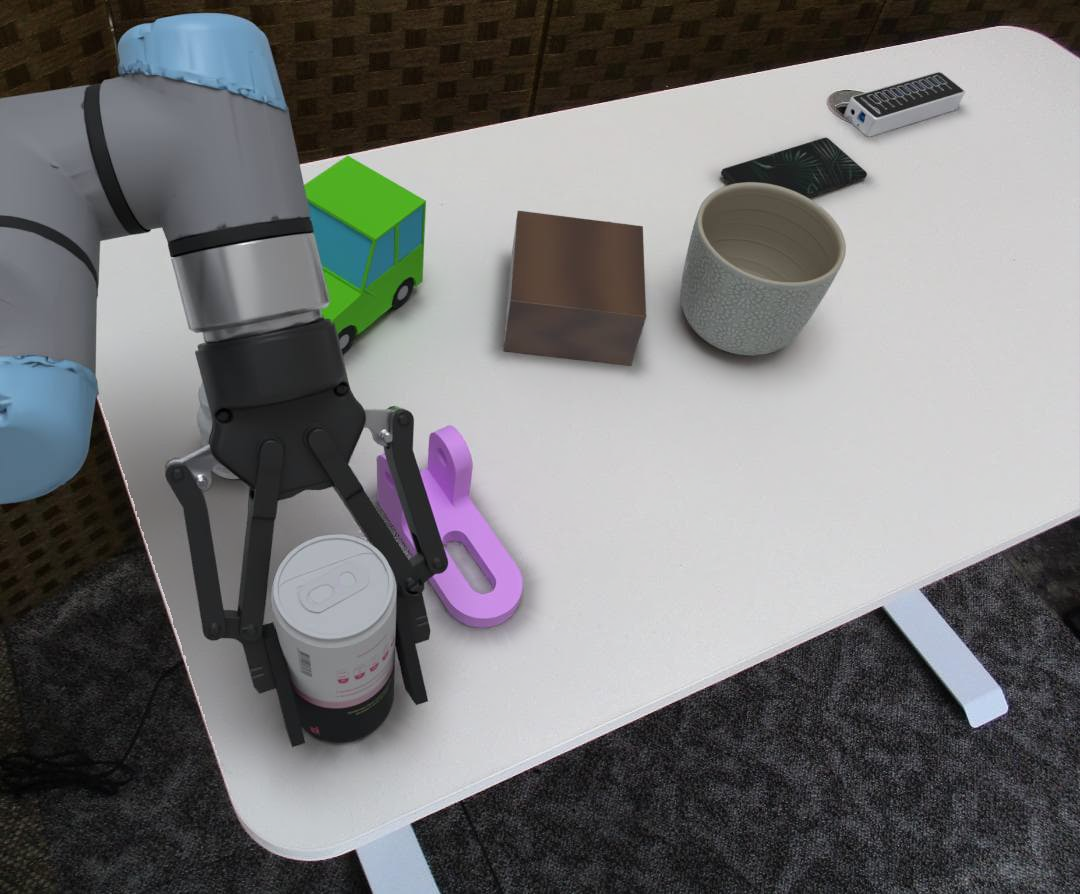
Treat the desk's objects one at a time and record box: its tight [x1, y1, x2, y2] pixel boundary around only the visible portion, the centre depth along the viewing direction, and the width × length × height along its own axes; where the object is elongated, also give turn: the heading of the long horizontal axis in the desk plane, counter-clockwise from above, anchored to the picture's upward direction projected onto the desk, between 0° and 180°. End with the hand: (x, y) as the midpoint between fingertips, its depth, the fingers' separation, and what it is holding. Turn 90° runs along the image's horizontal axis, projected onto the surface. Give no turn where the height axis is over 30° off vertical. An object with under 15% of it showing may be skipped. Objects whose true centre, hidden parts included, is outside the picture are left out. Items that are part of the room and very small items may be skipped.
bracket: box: [376, 424, 524, 629], centre depth 69 cm, size 13×6×7 cm, turn 33°
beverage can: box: [270, 533, 397, 744], centre depth 58 cm, size 7×7×15 cm
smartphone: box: [720, 137, 868, 199], centre depth 103 cm, size 7×1×15 cm
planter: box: [680, 182, 847, 356], centre depth 85 cm, size 12×12×11 cm
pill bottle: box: [196, 382, 240, 480], centre depth 71 cm, size 4×4×8 cm
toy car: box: [304, 155, 427, 356], centre depth 80 cm, size 10×13×10 cm
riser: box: [502, 210, 647, 366], centre depth 85 cm, size 11×11×6 cm
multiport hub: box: [843, 71, 966, 138], centre depth 112 cm, size 4×14×2 cm, turn 121°
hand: (357, 714), depth 58 cm, fingers closed on beverage can, 6 cm apart
